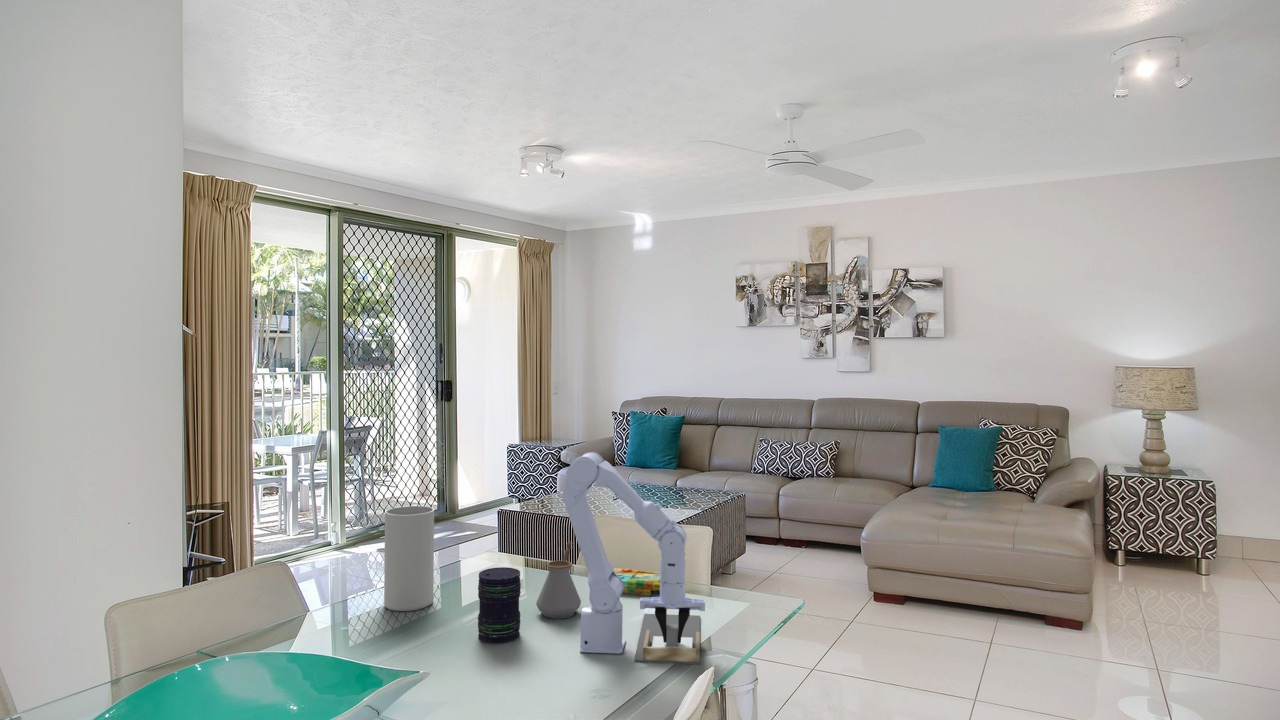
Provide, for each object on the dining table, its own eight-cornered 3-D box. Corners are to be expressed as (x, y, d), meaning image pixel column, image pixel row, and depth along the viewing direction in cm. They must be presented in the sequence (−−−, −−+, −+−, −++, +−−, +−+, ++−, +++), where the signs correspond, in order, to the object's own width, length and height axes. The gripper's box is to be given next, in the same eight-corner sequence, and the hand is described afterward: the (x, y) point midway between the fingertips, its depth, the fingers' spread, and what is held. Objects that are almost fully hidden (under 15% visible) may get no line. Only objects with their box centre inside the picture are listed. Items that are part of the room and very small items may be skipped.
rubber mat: (634, 661, 159) (634, 660, 159) (644, 615, 189) (644, 613, 189) (699, 664, 158) (699, 662, 158) (699, 617, 187) (699, 615, 187)
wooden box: (642, 661, 159) (643, 647, 159) (646, 642, 170) (646, 629, 170) (699, 663, 158) (699, 650, 158) (699, 644, 169) (699, 631, 169)
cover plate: (650, 656, 161) (651, 633, 161) (653, 641, 170) (653, 618, 170) (692, 658, 160) (692, 634, 160) (692, 642, 169) (692, 620, 169)
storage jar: (515, 626, 180) (516, 565, 180) (524, 641, 170) (524, 576, 171) (474, 631, 176) (475, 569, 176) (481, 646, 167) (481, 580, 167)
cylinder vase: (374, 610, 191) (375, 513, 191) (401, 595, 203) (401, 504, 203) (417, 614, 188) (418, 516, 188) (442, 599, 200) (442, 507, 200)
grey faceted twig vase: (576, 622, 183) (576, 562, 183) (531, 620, 184) (531, 560, 184) (590, 595, 204) (591, 541, 204) (550, 593, 205) (550, 540, 206)
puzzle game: (606, 565, 219) (671, 570, 214) (606, 580, 219) (671, 587, 214) (593, 575, 208) (661, 582, 202) (593, 592, 208) (661, 599, 202)
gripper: (639, 584, 162) (638, 646, 162) (705, 586, 160) (704, 649, 160) (641, 575, 169) (641, 634, 169) (705, 577, 167) (704, 637, 167)
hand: (672, 641), depth 165 cm, fingers closed on cover plate, 2 cm apart
